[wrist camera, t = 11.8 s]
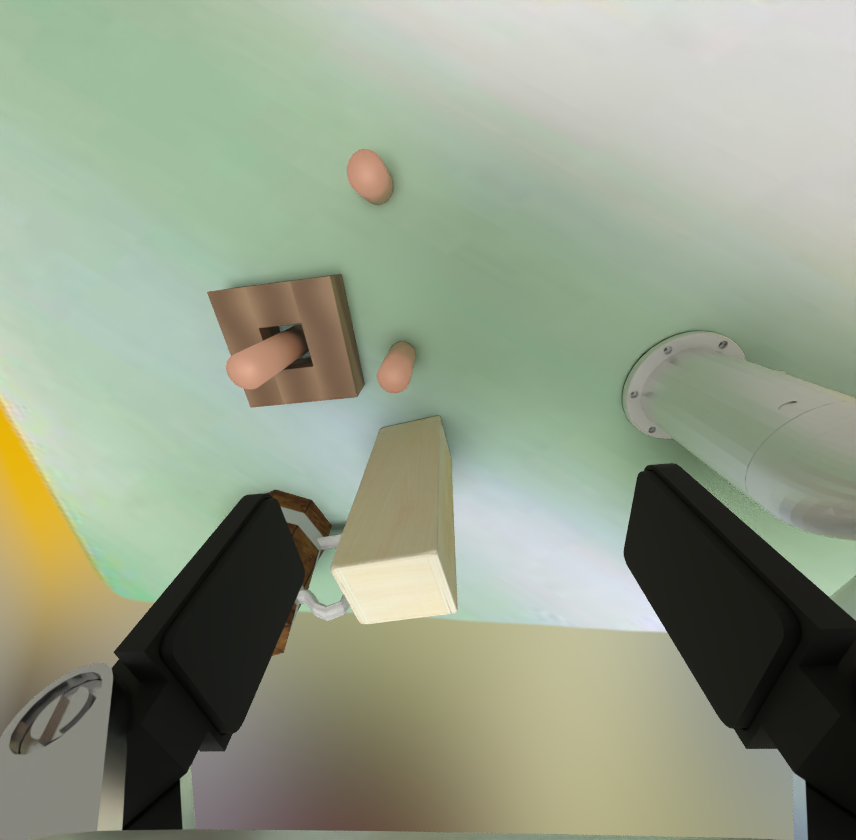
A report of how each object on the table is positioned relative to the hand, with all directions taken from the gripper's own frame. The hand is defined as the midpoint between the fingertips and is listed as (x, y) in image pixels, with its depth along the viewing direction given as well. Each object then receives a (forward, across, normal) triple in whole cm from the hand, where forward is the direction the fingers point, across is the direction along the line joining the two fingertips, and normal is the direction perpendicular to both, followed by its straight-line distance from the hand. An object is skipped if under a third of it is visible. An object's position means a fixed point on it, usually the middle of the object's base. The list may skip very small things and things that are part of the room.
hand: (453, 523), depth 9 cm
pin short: (+30, +5, -13) cm, 33 cm away
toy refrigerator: (+30, +5, +15) cm, 34 cm away
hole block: (+30, +16, 0) cm, 34 cm away
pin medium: (+30, +5, +3) cm, 31 cm away
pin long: (+30, +16, 0) cm, 34 cm away
